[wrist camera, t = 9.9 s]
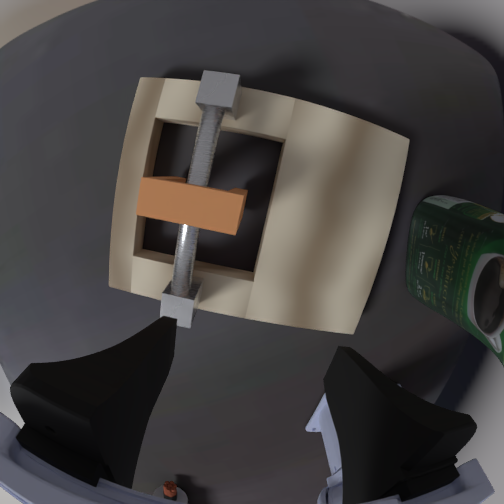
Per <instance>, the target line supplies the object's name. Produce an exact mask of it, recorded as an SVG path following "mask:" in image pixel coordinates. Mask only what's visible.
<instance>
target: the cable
mask: <svg viewBox="0 0 504 504" xmlns="http://www.w3.org/2000/svg"><path fill="white" fill-rule="evenodd" d="M153 496H156V497H160V498H164V499H168V500H172V501H177V502H182V503H188V498H187V495H186V493H185V492H184V491H183V490H181V489H180V488H178V487H177V485H176V484H174V482H173V481H170V483H169V482H168V481H166V482H165V484H164V485H163V486H160V487H158V488H157V489H156V490H155V491H154V493H153Z"/></svg>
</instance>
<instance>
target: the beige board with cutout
mask: <svg viewBox="0 0 504 504" xmlns="http://www.w3.org/2000/svg"><path fill="white" fill-rule="evenodd" d="M200 82H201V81H195V80H184V79H170V78H142V77H141V78H140V81H139V85H138V88H137V91H136V95H135V98H134V102H133V106H132V110H131V114H130V118H129V122H128V126H127V131H126V135H125V140H124V145H123V150H122V155H121V160H120V166H119V172H118V178H117V185H116V192H115V200H114V209H113V218H112V229H111V243H110V262H109V286H110V287H113V288H117V289H120V290H124V291H128V292H131V293H135V294H139V295H143V296H147V297H151V298H155V299H159V300H161V299H162V292H163V291H164V289H165V288H166V287H167V285H168V284H169V282H170V281H171V280H172V274H173V266H174V258H175V256H173V255H169V254H164V253H160V252H155V251H151V250H146V249H143V240H144V231H145V223H146V217H145V216H140V215H136V209H137V202H138V195H139V188H140V182H141V177H152V176H153V171H154V165H155V160H156V155H157V150H158V145H159V141H160V136H161V132H162V128H163V123H164V122H166V123H175V124H183V125H191V126H198V127H199V123H200V119H201V115H202V111H201V109H200V108H199V107H198V105H197V104H196V103H195V100H196V97H197V93H198V89H199V86H200ZM241 90H242V95H241V99H240V103H239V107H238V111H237V116H236V120H235V121H234V120H228V119H223V120H222V125H221V129H220V130H224V131H229V132H235V133H240V134H245V135H250V136H255V137H260V138H264V139H269V140H273V141H278V142H282V143H283V144H282V149H281V153H280V157H279V162H278V166H277V171H276V175H275V180H274V184H273V188H272V193H271V197H270V202H269V206H268V210H267V215H266V219H265V224H264V228H263V232H262V237H261V241H260V245H259V250H258V254H257V258H256V263H255V267H254V271H253V272H250V271H245V270H240V269H235V268H230V267H225V266H220V265H216V264H211V263H206V262H201V261H197V260H195V262H194V269H193V275H192V276H195V277H200V278H204V279H203V285H202V291H201V298H200V304H199V306H198V309H202V310H206V311H211V312H216V313H221V314H226V315H231V316H236V317H241V318H247V319H252V320H258V321H263V322H269V323H275V324H281V325H287V326H294V327H300V328H307V329H314V330H322V331H329V332H337V333H345V334H354V331H355V329H356V326H357V324H358V322H359V319H360V317H361V314H362V312H363V309H364V307H365V304H366V301H367V299H368V296H369V293H370V291H371V288H372V285H373V282H374V279H375V276H376V274H377V271H378V268H379V265H380V261H381V258H382V255H383V252H384V249H385V245H386V242H387V239H388V235H389V232H390V228H391V224H392V221H393V217H394V213H395V209H396V205H397V201H398V197H399V193H400V188H401V184H402V179H403V174H404V169H405V164H406V158H407V153H408V147H409V140H410V139H408V138H405V137H403V136H401V135H399V134H397V133H394V132H392V131H390V130H387V129H385V128H383V127H380V126H378V125H375V124H373V123H370V122H367V121H365V120H362V119H360V118H357V117H354V116H351V115H348V114H345V113H343V112H340V111H337V110H333V109H330V108H327V107H324V106H321V105H317V104H314V103H310V102H307V101H303V100H299V99H296V98H292V97H288V96H284V95H279V94H275V93H271V92H266V91H261V90H256V89H251V88H245V87H241Z"/></svg>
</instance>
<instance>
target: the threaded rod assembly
mask: <svg viewBox="0 0 504 504" xmlns="http://www.w3.org/2000/svg"><path fill="white" fill-rule="evenodd" d="M241 95H242V90H241V80H240V75H236V74H230V73H223V72H215V71H206V70H204V72H203V75H202V79H201V82H200V86H199V89H198V93H197V97H196V100H195V103H196V104H197V105H198V107H199V108H200V109H201V111H202V115H201V119H200V123H199V127H198V131H197V136H196V140H195V145H194V149H193V154H192V159H191V163H190V168H189V173H188V178H187V183H188V184H194V185H199V186H205V187H208V184H209V179H210V174H211V169H212V165H213V160H214V155H215V151H216V146H217V142H218V137H219V133H220V129H221V125H222V120H223V119H228V120H234V121H235V120H236V116H237V111H238V107H239V103H240V99H241ZM199 232H200V228H198V227H194V226H189V225H184V224H179V230H178V237H177V244H176V251H175V258H174V266H173V274H172V280H171V281H170V282H169V284H168V285H167V287H166V288H165V289H164V291H163V292H162V299H161V311H160V318H161V317H162V316H167V317H172V318H176V319H177V325H178V326H182V327H187V328H191V325H192V322H193V320H194V317H195V314H196V312H197V309H198V306H199V304H200V298H201V291H202V285H203V279H204V278H200V277H195V276H192V275H193V269H194V262H195V256H196V250H197V244H198V238H199Z"/></svg>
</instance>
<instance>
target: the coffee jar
mask: <svg viewBox="0 0 504 504" xmlns="http://www.w3.org/2000/svg"><path fill="white" fill-rule="evenodd" d="M406 284H407V288H408V290H409V292H410V294H411V295H412V296H413V297H415V298H416V299H417V300H419V301H420V302H421V303H423V304H424V305H426V306H428V307H429V308H431V309H432V310H434V311H436V312H437V313H439V314H441V315H443V316H444V317H446V318H448V319H449V320H451V321H453V322H454V323H456V324H457V325H459V326H460V327H462V328H463V329H465V330H466V331H468V332H469V333H470V334H472V335H473V336H475V337H476V338H477V339H479V340H480V341H481V342H482V343H484V344H485V345H486V346H487V347H488V348H489V349H490V350H491V351H492V352H493V353H494V354H495V355H496V356H497V357H498V359H499V360H500V362H501V363H502V365H503V366H504V214H502V213H499V212H497V211H494V210H492V209H489V208H487V207H484V206H482V205H479V204H476V203H474V202H471V201H467V200H464V199H460V198H456V197H451V196H445V195H437V196H431V197H428V198H425V199H424V200H423V201H421V202H420V203H419V205H418V206H417V207H416V209H415V211H414V213H413V216H412V220H411V225H410V231H409V237H408V246H407V256H406Z"/></svg>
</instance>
